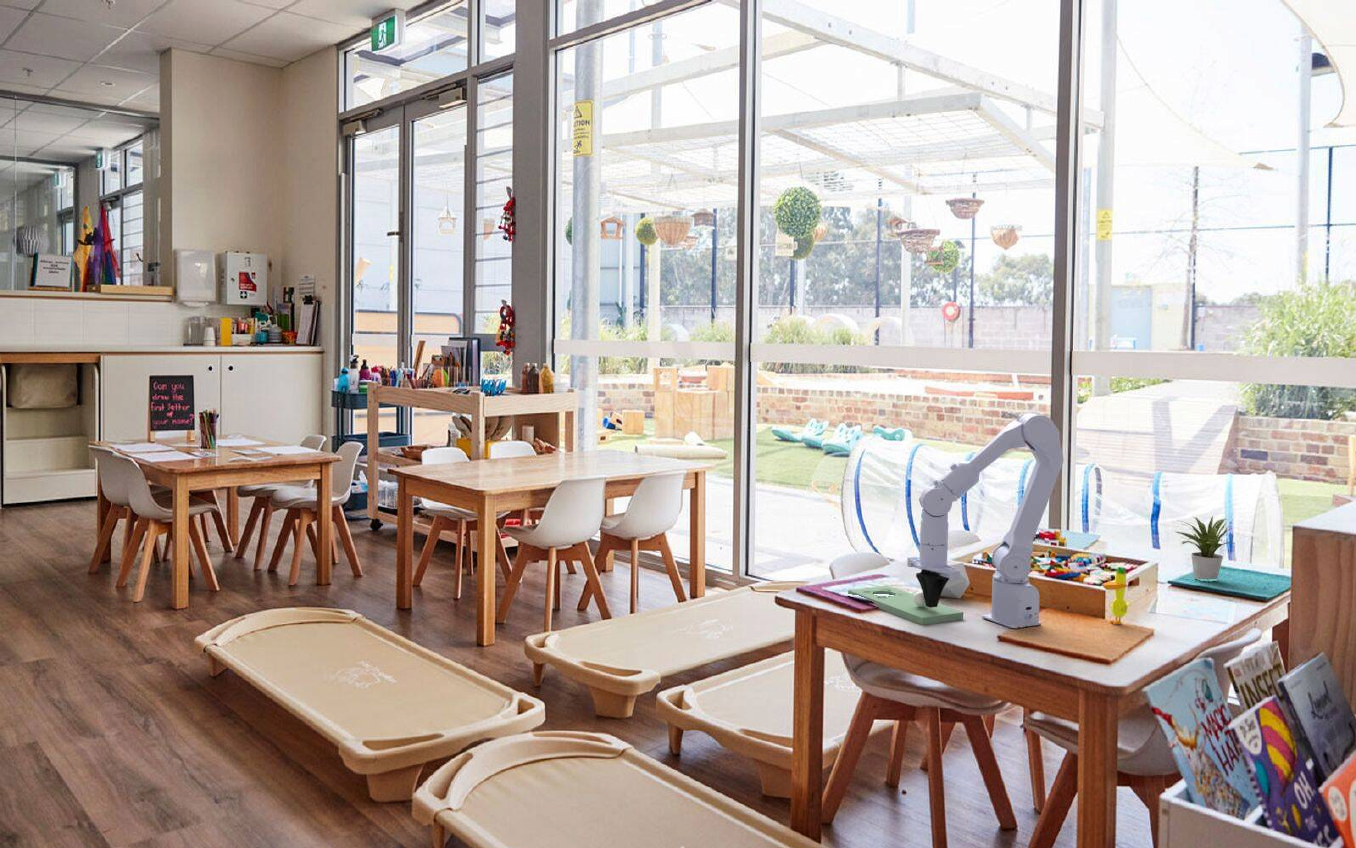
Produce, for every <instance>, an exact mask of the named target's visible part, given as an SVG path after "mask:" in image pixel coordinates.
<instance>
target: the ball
mask: <svg viewBox="0 0 1356 848" xmlns="http://www.w3.org/2000/svg"><path fill="white" fill-rule="evenodd" d="M913 595H914V597H913V601H914V603H915V605H917V606H918V607H926V604H925V599H924V595H923V591H922V590H918V591H917V592H915V593H914V594H913Z"/></svg>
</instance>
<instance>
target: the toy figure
mask: <svg viewBox="0 0 1356 848" xmlns="http://www.w3.org/2000/svg"><path fill="white" fill-rule="evenodd" d="M1126 570H1127V569H1126V567H1122V566H1117V570H1116V571H1115V574H1114V575H1115V576H1114V581H1107V582H1103V583H1102V584H1101V585H1102V588H1104V589H1105V590H1106V591H1111V590H1112V591H1113V590H1114V595H1115V599H1113V600H1112V602H1111V606H1110V608H1111V609H1110V610H1111V613H1112V614H1113V616H1114V617H1115V619H1111V620H1109V623H1110V624H1111V623H1114V624H1121V623H1122V621H1121V618H1123V617H1125V615H1126V614H1127V612H1128V607H1129V605H1130V602H1126V601H1125V598H1124V597H1125V593H1126V588H1127V587H1129V586H1128V584H1127V572H1126ZM1122 624H1123V623H1122ZM1122 624H1121V625H1122Z"/></svg>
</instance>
